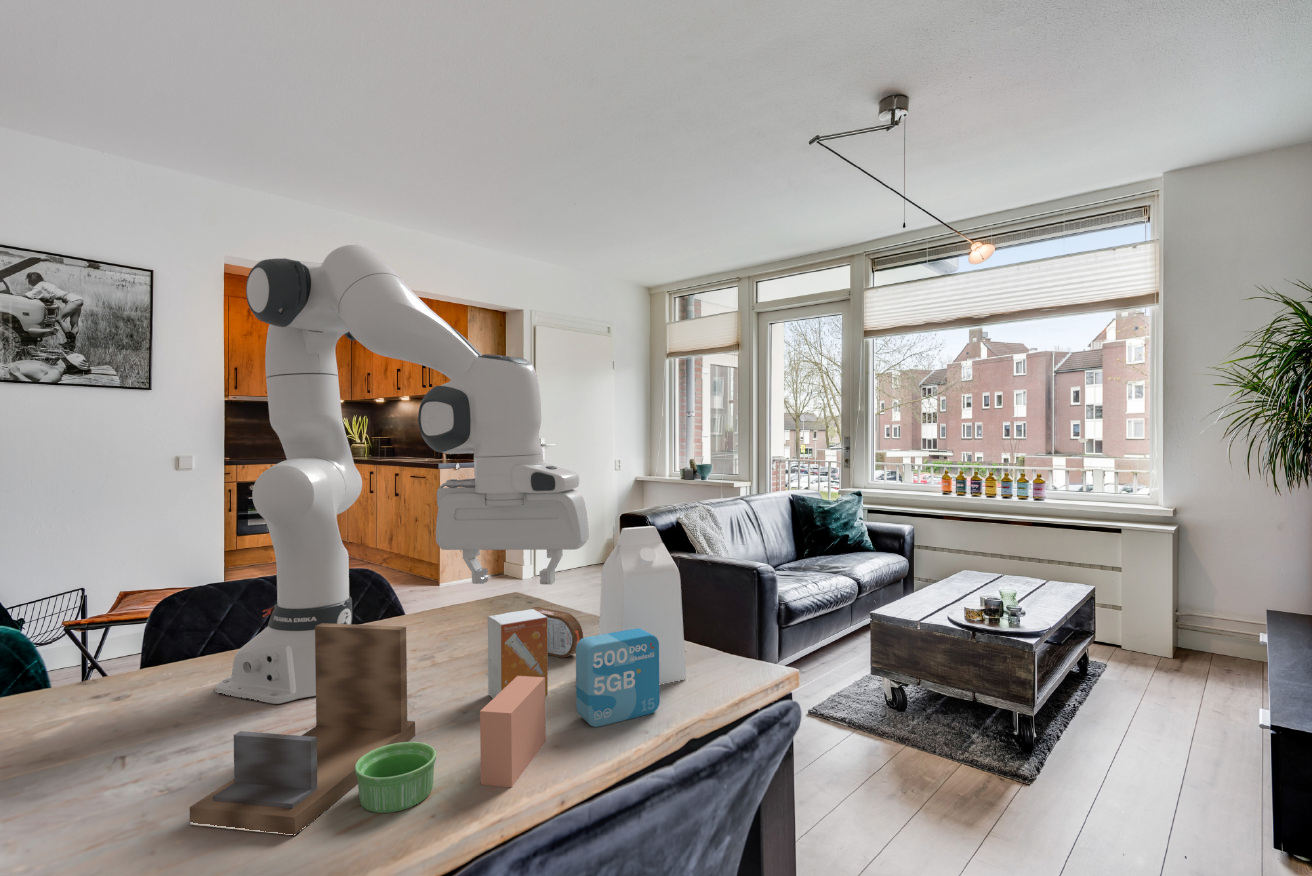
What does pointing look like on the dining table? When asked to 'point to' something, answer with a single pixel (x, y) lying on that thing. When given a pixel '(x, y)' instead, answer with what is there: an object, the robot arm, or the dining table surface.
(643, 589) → the milk
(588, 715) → the data package
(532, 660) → the small box
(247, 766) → the shelf stand
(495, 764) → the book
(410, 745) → the ramekin
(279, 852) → the dining table surface
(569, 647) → the tin
